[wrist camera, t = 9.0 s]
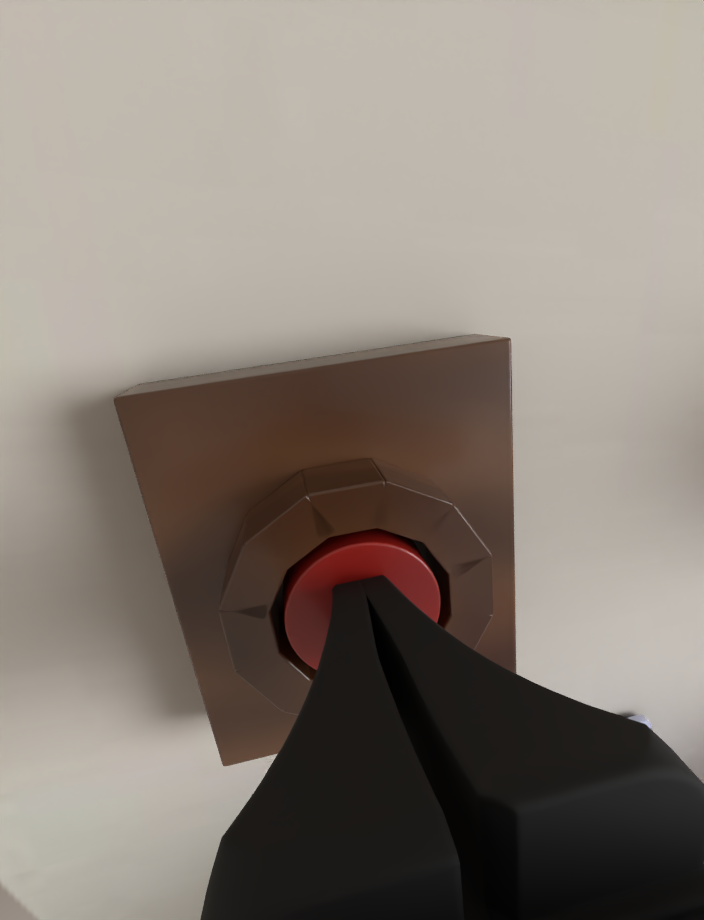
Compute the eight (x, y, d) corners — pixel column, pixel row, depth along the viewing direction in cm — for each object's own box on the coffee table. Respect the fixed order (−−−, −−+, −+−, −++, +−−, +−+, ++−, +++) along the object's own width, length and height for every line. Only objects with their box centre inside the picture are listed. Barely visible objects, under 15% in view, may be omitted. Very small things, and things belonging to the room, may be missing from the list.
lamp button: (425, 620, 14) (446, 661, 12) (295, 648, 14) (298, 695, 12) (415, 500, 13) (436, 528, 11) (270, 528, 12) (270, 561, 11)
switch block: (489, 651, 18) (547, 742, 14) (229, 711, 17) (215, 828, 13) (476, 333, 14) (552, 341, 10) (137, 383, 13) (80, 413, 9)
